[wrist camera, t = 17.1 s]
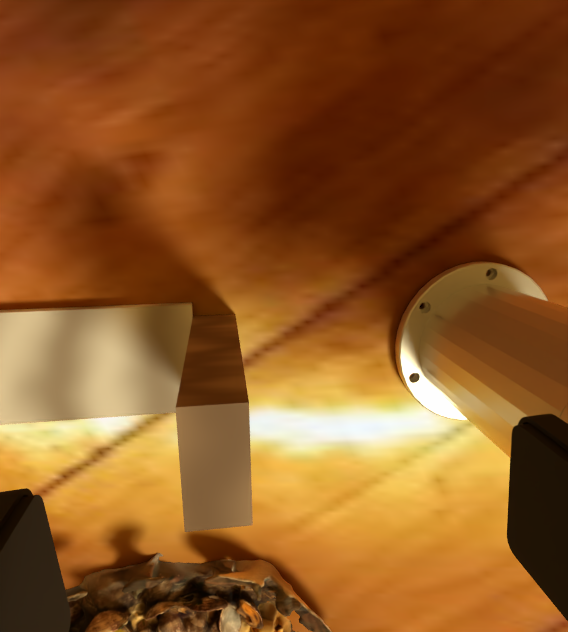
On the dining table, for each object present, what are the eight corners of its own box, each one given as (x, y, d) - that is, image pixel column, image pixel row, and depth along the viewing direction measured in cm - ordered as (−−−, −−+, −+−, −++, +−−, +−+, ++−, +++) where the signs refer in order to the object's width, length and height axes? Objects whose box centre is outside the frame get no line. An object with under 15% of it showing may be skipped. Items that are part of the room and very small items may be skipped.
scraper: (234, 300, 34) (247, 380, 20) (238, 403, 36) (253, 543, 22) (-69, 312, 31) (-310, 414, 17) (-47, 422, 33) (-245, 597, 19)
